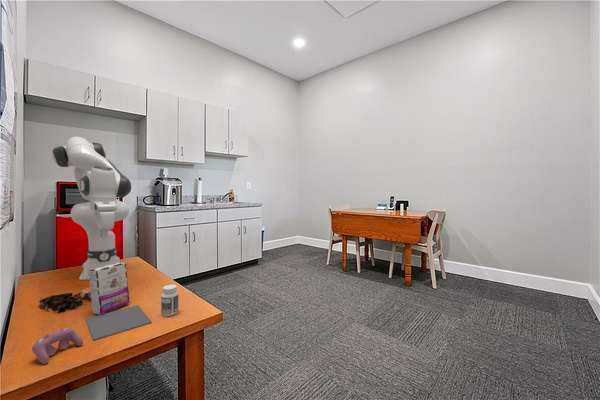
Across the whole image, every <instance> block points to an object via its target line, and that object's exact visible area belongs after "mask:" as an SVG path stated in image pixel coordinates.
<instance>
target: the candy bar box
mask: <svg viewBox="0 0 600 400" xmlns="http://www.w3.org/2000/svg"><path fill="white" fill-rule="evenodd" d="M88 271H89V280H88V281H89V287H90V290H91V298H90V300H91V308H92V314H93V315H96V316H97V315H102V314H105V313H109V312H113V311H115V310H117V309H118V308H121V307H123V306H126V305H128V304H130V303H131V302H130V294H129V293H130V292H129V283H128V274H127V273H128V272H127V263H126V262H123V261H121V262H119V263H115V264H110V265H107V266H103V267H99V268H95V269H91V270H88Z"/></svg>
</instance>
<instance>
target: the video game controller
mask: <svg viewBox="0 0 600 400" xmlns="http://www.w3.org/2000/svg"><path fill="white" fill-rule="evenodd" d="M57 342H58V343H57ZM70 342H71V343H73V344H74V345H76V346H78V347H81V346H83V345H84V341H83V339H82V337H81V336H80V335H79V333H78V332H77V331H76V330H75V329H74V328H71V327H67V328H61V329H58V330H55V331H52V332H50V333H47V334H46V335H44V336H42V337H41V338H40V339H39V340H37V341H36V342H35V343H34V344H33V345H32V347H31V350H32V353H33V354H34V356H36V359H37V360H38V361H39V362H40V363H41V364H43V365H47V364H48V363H49V361H50V357H51V356H53V355H55V354H56V352H57V349H58V350H59V351H63V350H66V349H67V348H68V347H69V345H70ZM55 343H57V348H56V347H55V346H53V345H54V344H55Z"/></svg>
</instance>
